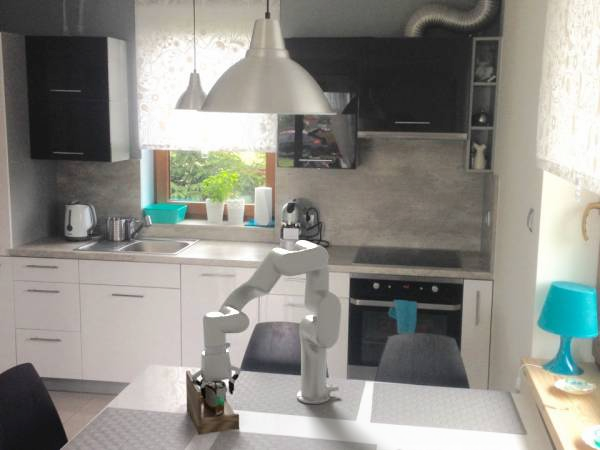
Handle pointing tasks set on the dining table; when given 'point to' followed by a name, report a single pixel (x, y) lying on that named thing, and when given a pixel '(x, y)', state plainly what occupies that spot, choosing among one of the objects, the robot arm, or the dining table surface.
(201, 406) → the low wooden shelf
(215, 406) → the food container
